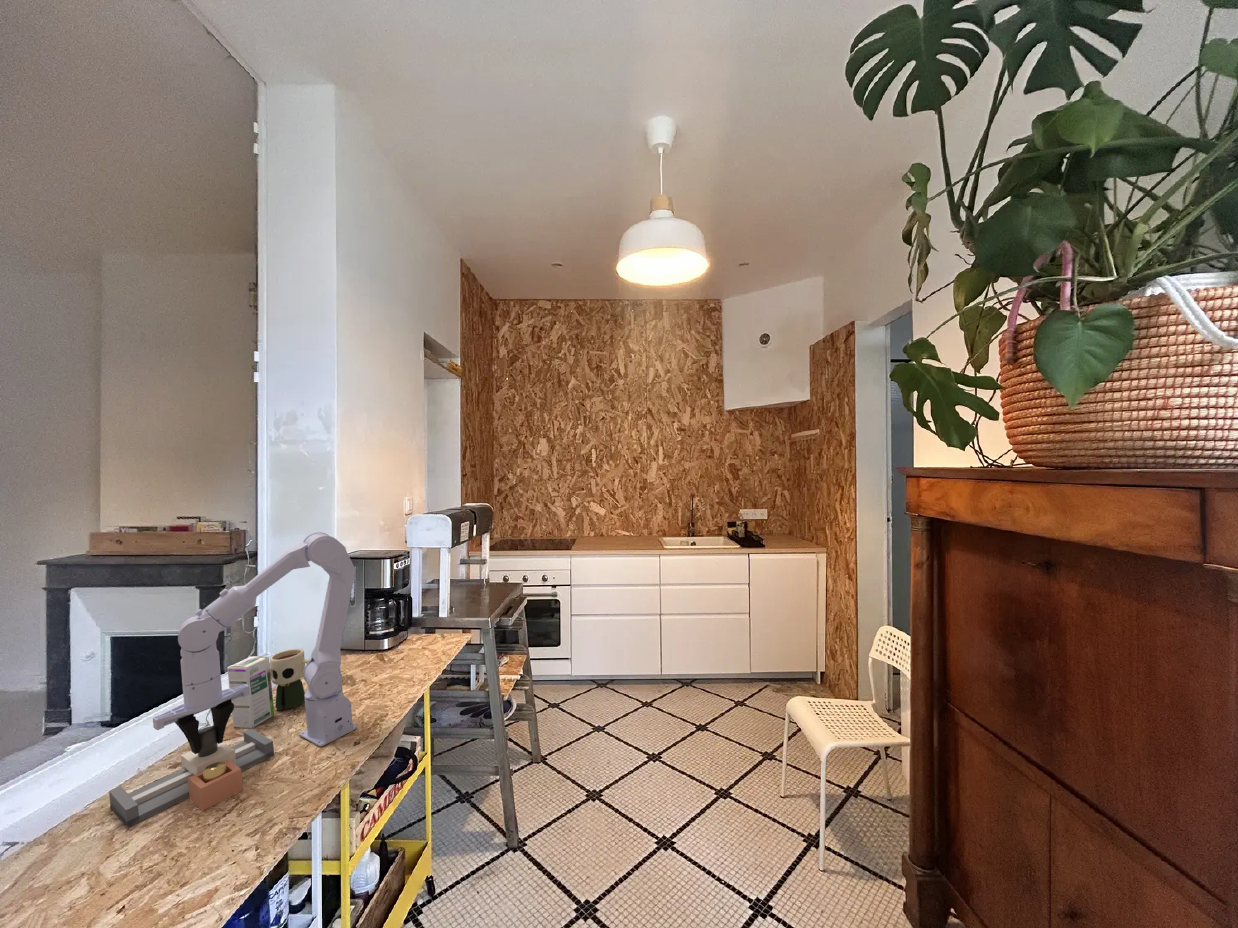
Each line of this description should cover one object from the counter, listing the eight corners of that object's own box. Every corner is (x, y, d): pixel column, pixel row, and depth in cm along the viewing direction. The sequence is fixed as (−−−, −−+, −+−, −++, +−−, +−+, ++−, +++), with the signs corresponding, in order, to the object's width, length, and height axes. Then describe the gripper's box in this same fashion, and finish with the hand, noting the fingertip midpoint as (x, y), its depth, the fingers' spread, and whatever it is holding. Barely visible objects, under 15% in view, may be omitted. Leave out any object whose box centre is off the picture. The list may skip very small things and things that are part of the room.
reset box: (243, 789, 91) (241, 768, 91) (202, 810, 86) (200, 788, 86) (229, 779, 94) (227, 759, 94) (189, 799, 89) (187, 777, 89)
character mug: (258, 715, 118) (254, 662, 118) (276, 700, 125) (273, 650, 125) (305, 710, 119) (301, 658, 119) (321, 696, 126) (317, 646, 126)
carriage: (236, 764, 97) (233, 727, 96) (197, 782, 92) (194, 744, 91) (219, 752, 101) (216, 717, 101) (182, 769, 96) (179, 732, 96)
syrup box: (252, 728, 112) (247, 666, 112) (231, 727, 113) (226, 665, 113) (275, 715, 118) (270, 655, 117) (254, 714, 119) (249, 655, 118)
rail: (274, 754, 101) (272, 740, 101) (127, 827, 83) (125, 810, 83) (252, 741, 107) (251, 728, 107) (110, 807, 88) (109, 790, 88)
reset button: (229, 780, 90) (228, 764, 90) (208, 791, 88) (206, 774, 88) (222, 774, 92) (221, 759, 92) (201, 785, 89) (200, 769, 89)
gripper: (237, 660, 104) (242, 722, 104) (145, 690, 92) (151, 761, 92) (252, 666, 100) (257, 731, 101) (157, 699, 88) (164, 772, 88)
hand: (207, 746), depth 96 cm, fingers closed on carriage, 3 cm apart
